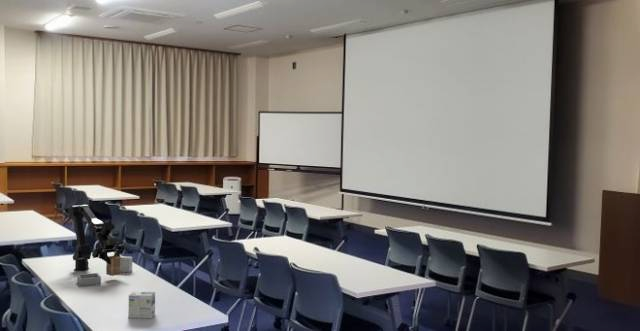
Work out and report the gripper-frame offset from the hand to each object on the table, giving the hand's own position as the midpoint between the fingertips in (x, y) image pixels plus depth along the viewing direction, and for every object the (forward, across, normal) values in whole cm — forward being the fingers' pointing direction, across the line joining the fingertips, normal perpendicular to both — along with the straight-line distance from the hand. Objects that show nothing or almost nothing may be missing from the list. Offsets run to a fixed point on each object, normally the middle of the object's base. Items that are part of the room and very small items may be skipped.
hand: (115, 263), depth 320 cm
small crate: (+4, 0, +6) cm, 7 cm away
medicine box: (-3, +16, +17) cm, 23 cm away
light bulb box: (+52, -28, -39) cm, 71 cm away
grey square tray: (+4, -13, +10) cm, 17 cm away
